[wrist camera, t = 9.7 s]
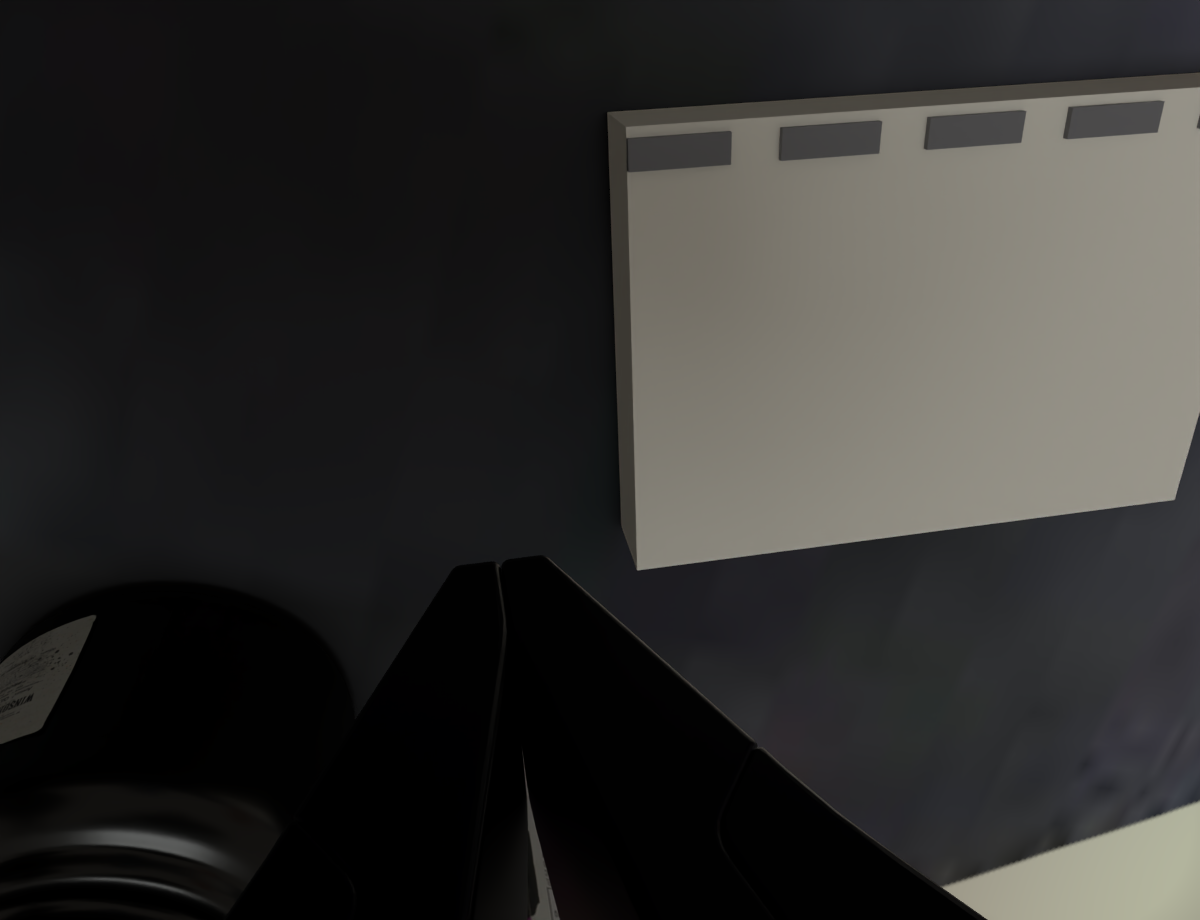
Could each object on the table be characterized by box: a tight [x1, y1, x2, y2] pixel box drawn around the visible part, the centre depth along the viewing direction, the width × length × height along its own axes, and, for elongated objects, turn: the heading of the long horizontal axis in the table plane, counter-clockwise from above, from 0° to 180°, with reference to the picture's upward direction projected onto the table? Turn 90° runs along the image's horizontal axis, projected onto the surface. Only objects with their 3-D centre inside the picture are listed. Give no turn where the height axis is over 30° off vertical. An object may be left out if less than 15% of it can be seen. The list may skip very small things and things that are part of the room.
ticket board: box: [607, 72, 1200, 570], centre depth 22 cm, size 14×10×2 cm
